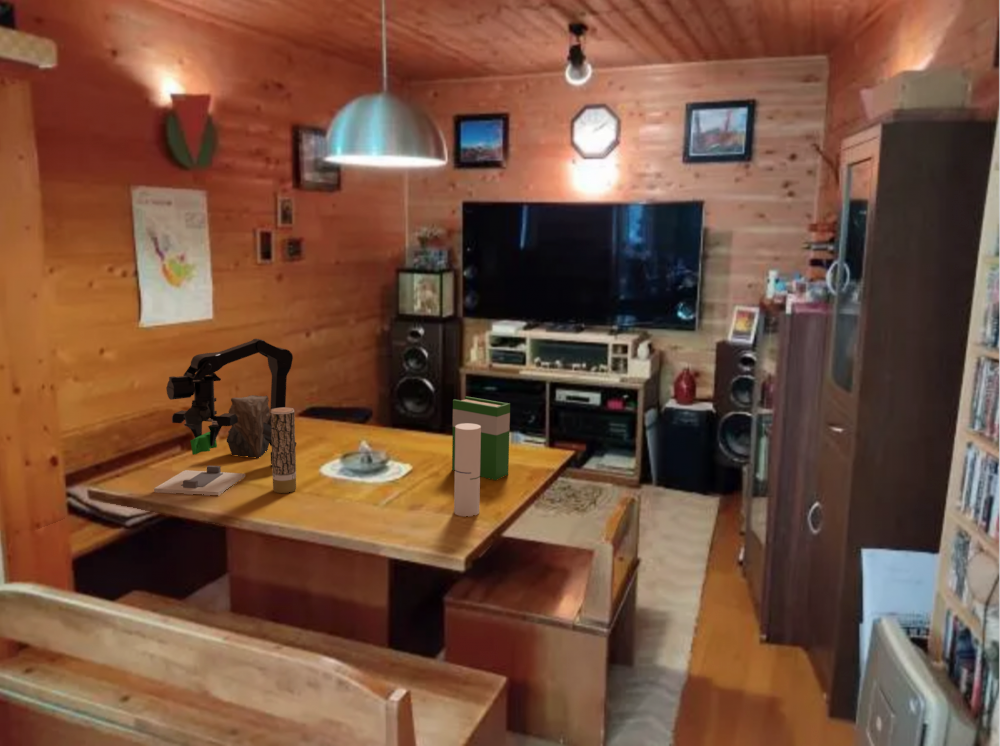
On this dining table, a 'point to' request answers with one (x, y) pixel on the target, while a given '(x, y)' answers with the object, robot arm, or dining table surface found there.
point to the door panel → (200, 482)
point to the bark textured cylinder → (283, 449)
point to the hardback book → (486, 433)
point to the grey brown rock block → (249, 426)
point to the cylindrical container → (467, 469)
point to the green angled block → (202, 444)
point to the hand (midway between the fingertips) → (205, 445)
